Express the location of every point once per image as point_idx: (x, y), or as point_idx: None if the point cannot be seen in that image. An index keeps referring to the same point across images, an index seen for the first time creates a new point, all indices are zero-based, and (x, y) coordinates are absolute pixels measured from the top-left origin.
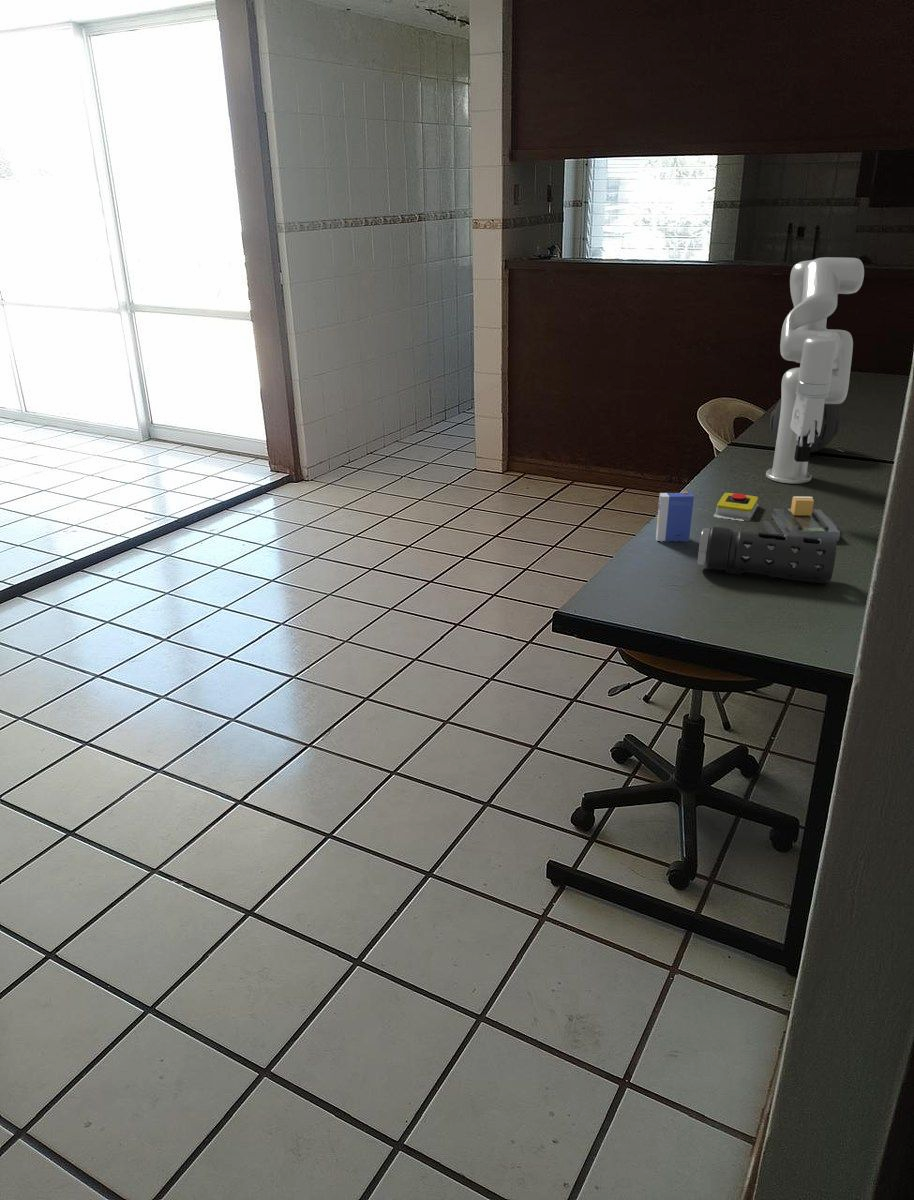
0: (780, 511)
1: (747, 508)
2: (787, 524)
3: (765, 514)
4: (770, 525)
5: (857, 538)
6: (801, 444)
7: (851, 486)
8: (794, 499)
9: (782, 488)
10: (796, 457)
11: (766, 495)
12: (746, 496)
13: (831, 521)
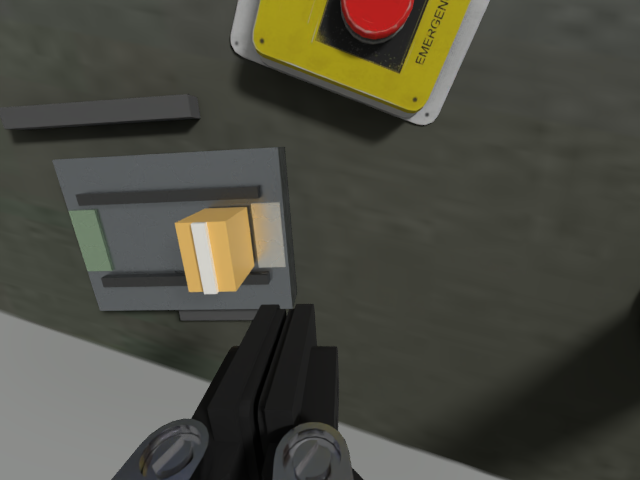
0: (251, 171)
1: (262, 31)
2: (119, 167)
3: (320, 133)
4: (145, 112)
5: (159, 344)
6: (130, 469)
7: (581, 448)
8: (200, 221)
9: (606, 255)
10: (254, 321)
11: (534, 180)
12: (426, 56)
13: (227, 315)
